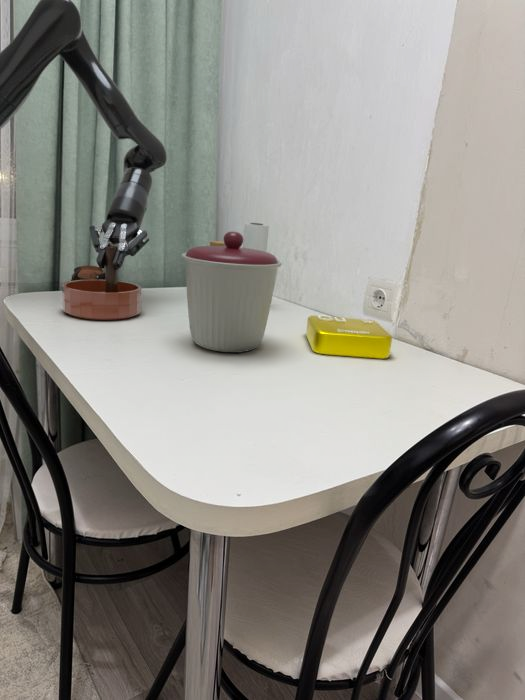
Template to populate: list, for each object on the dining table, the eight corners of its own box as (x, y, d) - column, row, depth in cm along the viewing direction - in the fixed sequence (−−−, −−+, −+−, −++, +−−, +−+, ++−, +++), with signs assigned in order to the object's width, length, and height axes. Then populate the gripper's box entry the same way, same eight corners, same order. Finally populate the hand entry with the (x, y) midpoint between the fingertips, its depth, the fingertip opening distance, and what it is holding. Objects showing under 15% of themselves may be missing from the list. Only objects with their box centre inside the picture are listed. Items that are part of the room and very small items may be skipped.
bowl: (48, 316, 105) (47, 287, 103) (83, 302, 121) (83, 277, 119) (125, 324, 104) (125, 295, 102) (150, 309, 120) (150, 284, 118)
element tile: (313, 354, 95) (316, 329, 94) (304, 334, 109) (307, 312, 108) (391, 360, 96) (395, 335, 94) (372, 339, 110) (376, 318, 109)
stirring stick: (96, 311, 110) (96, 246, 106) (105, 307, 115) (105, 244, 111) (118, 313, 110) (118, 248, 106) (125, 309, 114) (126, 246, 110)
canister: (280, 339, 103) (290, 234, 97) (264, 365, 86) (276, 239, 80) (194, 328, 106) (199, 225, 100) (163, 351, 88) (167, 228, 83)
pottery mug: (63, 297, 126) (63, 266, 128) (83, 307, 136) (82, 278, 137) (108, 289, 125) (107, 258, 126) (125, 300, 134) (123, 271, 136)
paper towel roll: (248, 310, 129) (255, 224, 123) (233, 305, 133) (239, 221, 127) (269, 308, 133) (277, 225, 127) (254, 303, 138) (261, 223, 132)
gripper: (94, 192, 113) (70, 252, 105) (155, 197, 112) (135, 258, 104) (103, 216, 119) (81, 274, 111) (161, 221, 118) (143, 280, 110)
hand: (108, 266), depth 107 cm, fingers closed on stirring stick, 2 cm apart
